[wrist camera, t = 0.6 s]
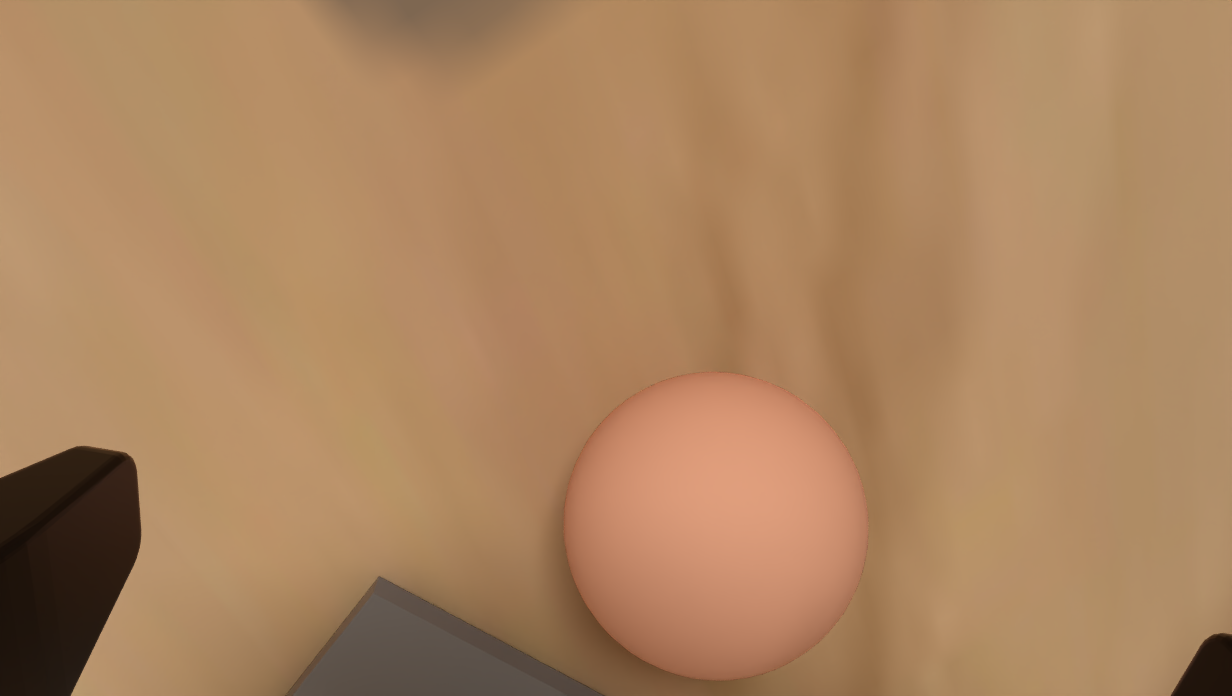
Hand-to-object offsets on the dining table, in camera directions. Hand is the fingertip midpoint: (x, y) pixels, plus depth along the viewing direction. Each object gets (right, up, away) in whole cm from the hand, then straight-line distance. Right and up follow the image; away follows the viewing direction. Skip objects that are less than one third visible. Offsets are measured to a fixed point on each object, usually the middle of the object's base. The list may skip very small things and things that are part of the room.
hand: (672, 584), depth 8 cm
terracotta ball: (+2, -2, +12) cm, 12 cm away
